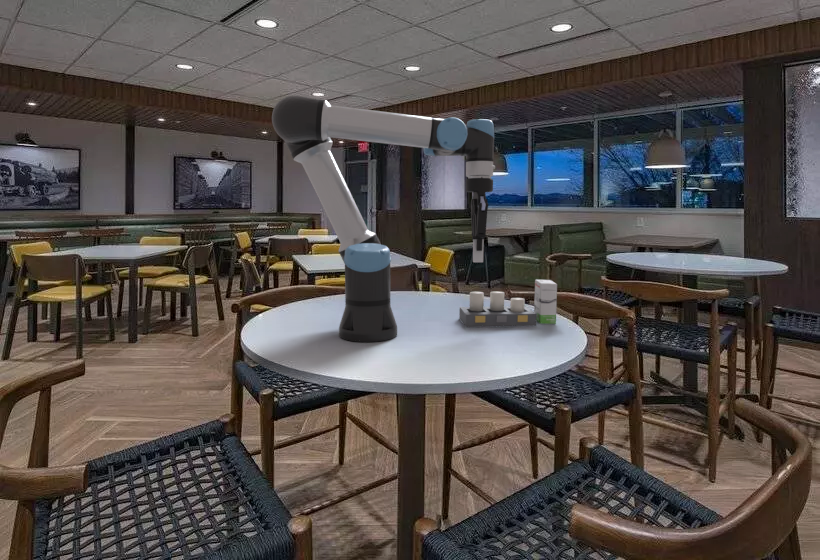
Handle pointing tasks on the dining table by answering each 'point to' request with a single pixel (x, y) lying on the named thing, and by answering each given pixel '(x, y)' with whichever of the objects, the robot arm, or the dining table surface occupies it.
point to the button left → (476, 301)
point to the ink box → (545, 301)
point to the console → (497, 317)
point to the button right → (517, 305)
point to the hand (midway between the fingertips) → (478, 262)
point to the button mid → (497, 301)
